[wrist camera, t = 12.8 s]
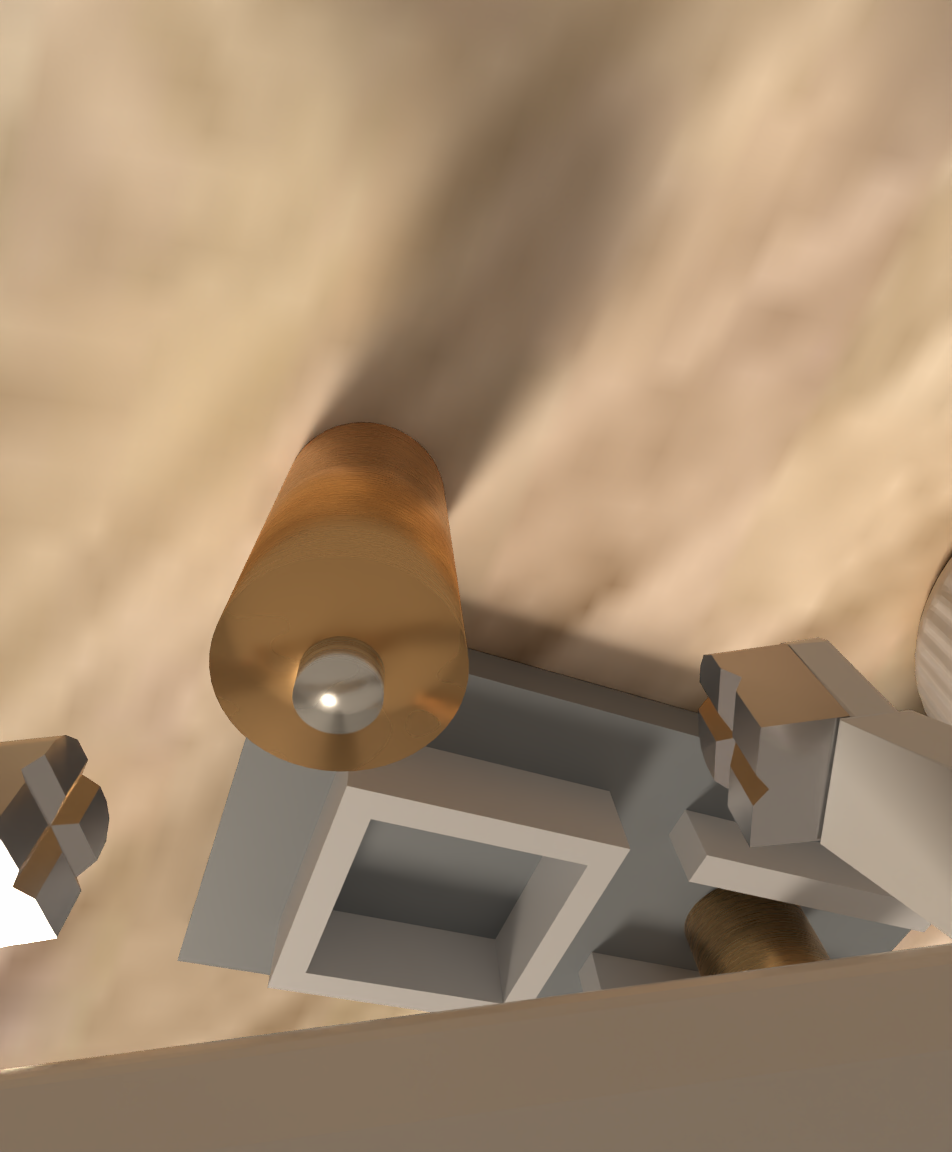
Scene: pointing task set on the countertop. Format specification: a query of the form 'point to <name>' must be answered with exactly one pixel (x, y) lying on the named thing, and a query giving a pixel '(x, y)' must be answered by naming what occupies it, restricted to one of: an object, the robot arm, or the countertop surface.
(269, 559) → the copper cell
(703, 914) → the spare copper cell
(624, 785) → the gray slab
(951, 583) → the ramekin
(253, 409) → the countertop surface
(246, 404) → the countertop surface
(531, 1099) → the robot arm
